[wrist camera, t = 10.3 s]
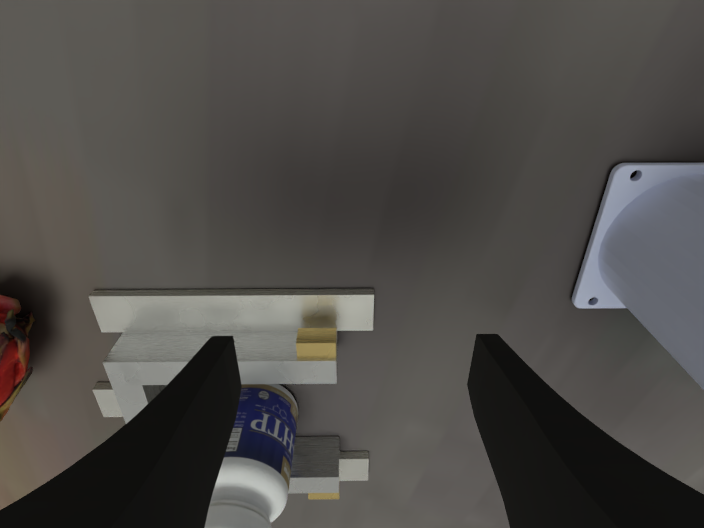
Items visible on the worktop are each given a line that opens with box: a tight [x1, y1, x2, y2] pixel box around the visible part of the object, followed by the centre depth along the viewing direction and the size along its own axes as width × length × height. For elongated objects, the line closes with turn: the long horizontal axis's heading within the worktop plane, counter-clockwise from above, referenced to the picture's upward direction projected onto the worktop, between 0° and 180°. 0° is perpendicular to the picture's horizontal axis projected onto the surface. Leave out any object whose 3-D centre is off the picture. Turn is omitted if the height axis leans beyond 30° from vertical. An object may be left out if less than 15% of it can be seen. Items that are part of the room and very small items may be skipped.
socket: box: [88, 289, 374, 499], centre depth 26 cm, size 17×16×3 cm
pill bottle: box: [205, 384, 298, 528], centre depth 24 cm, size 5×5×9 cm
